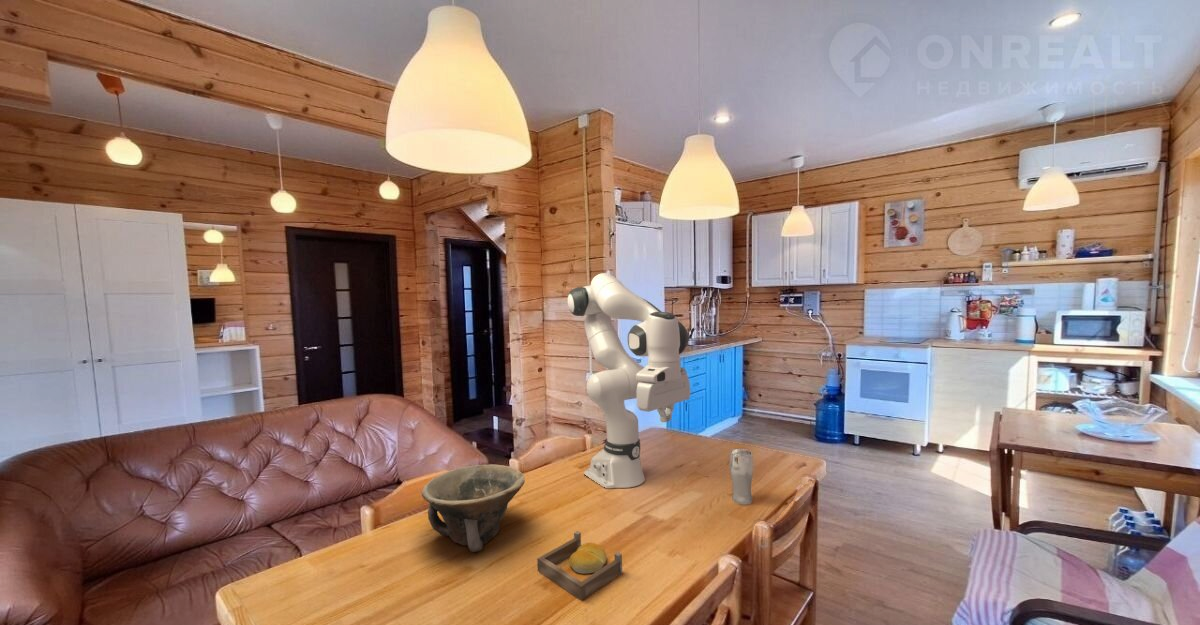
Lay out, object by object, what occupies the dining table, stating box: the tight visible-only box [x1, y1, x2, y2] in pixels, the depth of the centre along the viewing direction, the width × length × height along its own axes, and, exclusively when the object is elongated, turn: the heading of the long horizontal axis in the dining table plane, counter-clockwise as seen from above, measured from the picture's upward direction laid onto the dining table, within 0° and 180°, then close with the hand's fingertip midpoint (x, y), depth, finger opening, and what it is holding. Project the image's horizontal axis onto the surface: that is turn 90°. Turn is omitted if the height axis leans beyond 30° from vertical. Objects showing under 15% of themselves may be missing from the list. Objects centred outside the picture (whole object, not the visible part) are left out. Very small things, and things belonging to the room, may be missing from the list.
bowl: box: [421, 464, 526, 553], centre depth 121 cm, size 27×26×15 cm
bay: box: [536, 530, 623, 601], centre depth 102 cm, size 15×13×4 cm
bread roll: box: [568, 542, 608, 575], centre depth 105 cm, size 8×9×4 cm
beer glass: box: [729, 448, 754, 506], centre depth 135 cm, size 7×7×15 cm
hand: (665, 421), depth 121 cm, fingers closed
